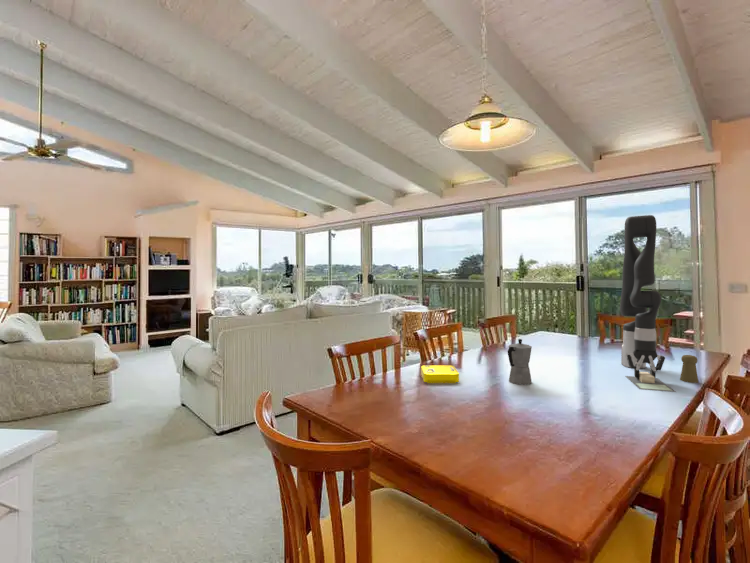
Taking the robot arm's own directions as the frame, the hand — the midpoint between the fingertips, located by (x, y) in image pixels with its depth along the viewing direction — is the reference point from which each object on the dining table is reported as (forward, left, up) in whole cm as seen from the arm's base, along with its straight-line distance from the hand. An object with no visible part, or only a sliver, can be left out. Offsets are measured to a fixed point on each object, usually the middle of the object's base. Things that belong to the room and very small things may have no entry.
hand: (644, 379), depth 163 cm
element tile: (-24, -82, -2) cm, 85 cm away
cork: (+5, +17, -1) cm, 17 cm away
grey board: (+4, -2, -1) cm, 5 cm away
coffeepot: (-11, -51, -1) cm, 53 cm away
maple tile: (0, 0, 0) cm, 0 cm away
